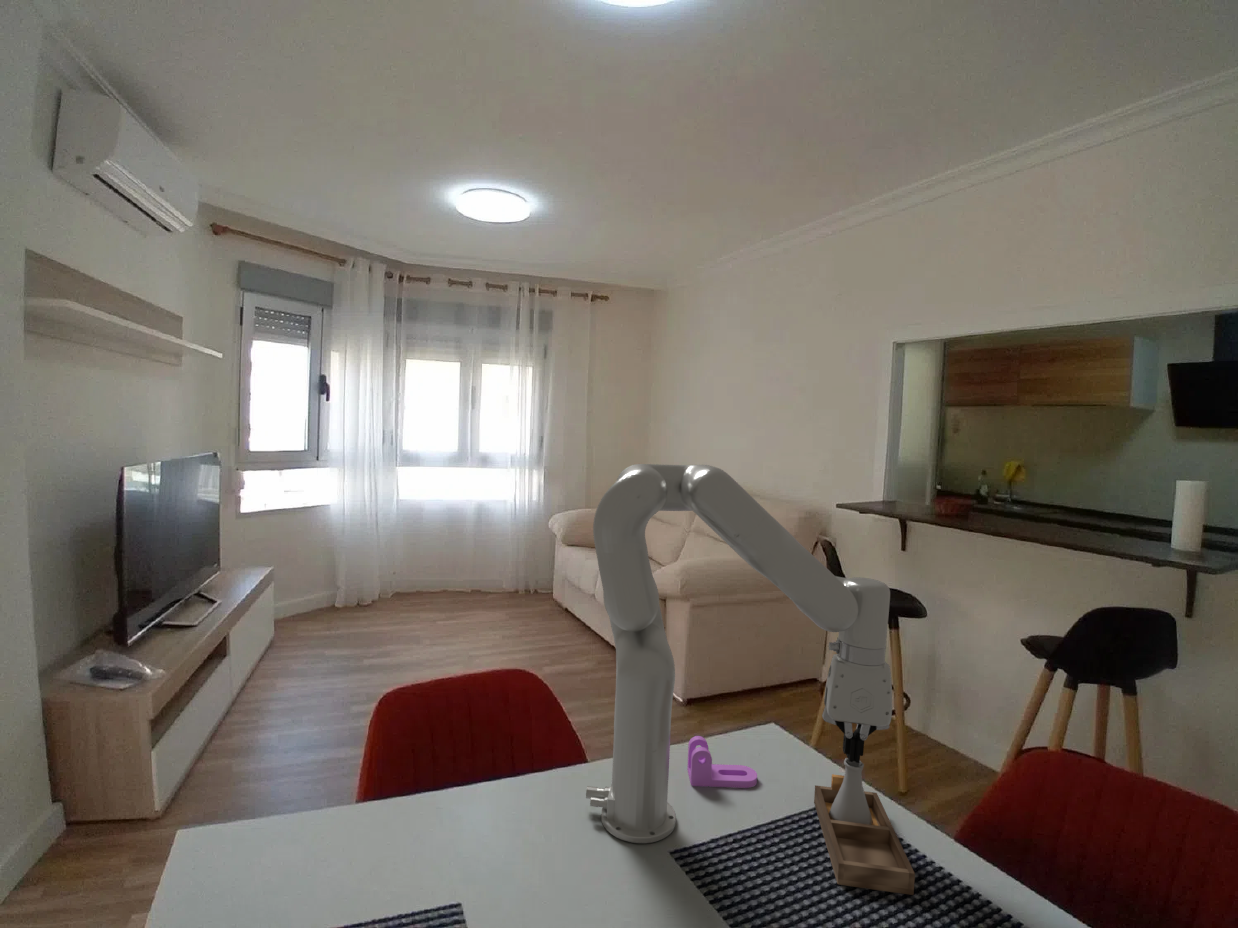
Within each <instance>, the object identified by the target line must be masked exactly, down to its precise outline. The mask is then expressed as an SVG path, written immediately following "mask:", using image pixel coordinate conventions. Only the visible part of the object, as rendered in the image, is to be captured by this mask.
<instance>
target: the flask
mask: <svg viewBox="0 0 1238 928" xmlns="http://www.w3.org/2000/svg"><path fill="white" fill-rule="evenodd" d="M843 764H844V766H845V767H844V768H845V769H844V775H843V776H844V779H843V783H842V785H841V787H840V790H839V792H838V794H837V796H836V798H835V800H834V802H833V804H832V806H831V809H830V812H829V816H830V818H831V819H832V820H838V821H846V822H854V823H861V824H869V825H872V824H873V820H872V817H871V813H870V810H869V807H868V804H867V800H866V797H865V793H864V791H865V789H864V786H863V778H862V771H863V769H864V765H865V764H864V763H863V762H862V761H861V760H860V762H859V763H856V762H855V761H853V762H849V760H848V758H847V757H845V759H844V760H843Z"/></svg>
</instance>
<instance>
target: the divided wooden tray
mask: <svg viewBox="0 0 1238 928" xmlns="http://www.w3.org/2000/svg"><path fill="white" fill-rule="evenodd" d="M843 779H844V775H842V774H834V773H833V774H831V786H825V785H824V786H823V785H814V796H813V797H814V798H813V799H814V801H813V804H814V807H815V812H816V813H817V817H818V821H819V824H820V828H821V833H822V835H823V839H824V842H825V846H826V849H827V851H828V852H827V853H828V855H829V859H830V864H831V867H832V870H833V874H834V877H835V881H836V883H837V885H841V886H848V887H853V888H854V887H855V888H860V889H868V890H874V891H881V892H887V893H889V892H890V893H896V894H902V895H903V894H905V895H910V896H914V894H915V893H914V892H915V879H916V877H915V876H916V873H915V871H914V869H913V866H912V864H911V862H910V859H908V857H907V855H906V852H905V850H904V848H903V845H902V844H901V842H900V839H899V837H898V835H897V833H896V831H895V829H894V826H893V824H892V822H891V820H890V818H889V815H888V814H887V812H886V809H885V808H884V806H883V804H882V801H881V799H880V797H879V795H878V793H877V792H873V791H872V792H871V791H867V790H864V793H865V797H866V800H867V804H868V807H869V810H870V813H871V817H872V820H873V824H872V825H869V824H861V823H854V822H846V821H838V820H832V819H831V818H830V816H829V812H830V809H831V806H832V804H833V802H834V800H835V798H836V796H837V794H838V792H839V790H840V787H841V785H842V783H843Z"/></svg>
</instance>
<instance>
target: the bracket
mask: <svg viewBox="0 0 1238 928" xmlns="http://www.w3.org/2000/svg"><path fill="white" fill-rule="evenodd" d="M687 748H688V749H687V750H688V751H687V765H686V766H687V768H686V769H687V770H686V771H687V773H688V779H689V784H690V786H691V785H692V786H691V787H708V786H709V788H710V787H711V788H714V787H716V788H717V787H718V788H740V789H741V788H742V789H743V788H744V789H747V788H752V787H755V786H756V785H757V784H758V773H757V771H756V770H755V769H754V768H752V767H749V766H747V765H742V764H722V763H721V764H716V763H715V764H713V762H712V761H713V758H712V754H711V752H710V750H709V745H708V741H707V740H706V738H704V736H701V735H695V736H693V737H691V738H690V740H689V741H688V745H687Z"/></svg>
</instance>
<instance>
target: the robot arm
mask: <svg viewBox="0 0 1238 928" xmlns="http://www.w3.org/2000/svg"><path fill="white" fill-rule="evenodd" d="M661 511H662V512H693V513H694V514H696V516H698V518H700V520H702V521H703V523H705V524H706V525H707V526H708V527H709V528H710V529H711V530H712V531H714V533H716V535H718V537H720V538H721V540H723V541H724V542H725V543H726V544H727V545H728V546H729V547H730V549H732V550H733V551H734V552H735V553H736V554H737V555H738V556H739V557H740V558H741V559H742V560H744V561H745V562H746V564H748V565H749V566H750V567H751V568H752V569H753V570H755V571H756V572H757V573H759V574H760V575H762V576H763V577H765V578H766V579H767V580H768V581H770V582H771V584H773V585H774V586H776V588H778V589H779V590H780V591H781V592H782V593H783V594H784V595H785V596H787V598H789V600H790V601H792V602H793V604H794V605H795V606H796V609H798V610H799V611H800V612H801V613H802V614H803V615H805V616H806V617H807V618H808V619H810V621H812V622H813V623H814V624H815V625H816V626H817V627H819V628H820V629H822V630H824V631H826V632H829V633H838V635H837V637H836V640H835V641H833V642H832V641H831V642H828V650H829V651H833V652H835V653H834V654H833V655H832V658H831V662H830V664H829V669H828V671H827V672H828V673H827V676H826V677H827V678H826V683H825V689H824V701H823V702H824V703H823V704H824V709H823V712H822V713H821V716H822V719H823V721H824V722H826V723H829V724H832V725H835V726H837V728H839V730H840V731H841V732H842V733H843V740H842V752H843V754H845V756H846V758H848V760H849V762H853V761H855V762H856V763H859V762H860V761H861V757H864V749H865V741H867V739H868V737H869V736H870V735H872V733H874V732H876V731H882V730H888V729H890V724H891V722H892V716H893V715H892V714H893V707H892V706H893V687H892V673H891V672H892V671H891V666H890V664H889V663H888V662H886V652H887V651H886V649H887V638H888V627H889V626H888V624H889V614H890V613H889V612H890V605H891V604H890V601H891V590H890V587H889V586H888V584H887V583H885V582H883V581H881V580H877V579H875V578H867V577H843V576H842V577H841V576H837V575H834V574H833V572H832V571H830V570H829V569H828V568H827V567H826V566H825V565H824V564H823V563H822V562H821V561H820V560H819V559H818V558H816V557H815V555H813V554H812V553H811V552H810V551H809V550H808V549H806V547H805V546H803V545H802V544H801V543H800V542H799V541H798V540H797V539H796V537H795V536H793V534H791V533H790V532H789V530H787V528H785V527H784V525H782V524H781V523H780V522H779V521H777V519H776V518H774V516H773V515H771V514H770V513H769V512H768V511H767V510H766V509H765V508H764V507H763V506H762V505H761V504H760V503H759V502H758V501H757V500H756V499H755V498H754V497H753V496H752V495H751V494H749V492H747V491H746V489H744V487H742V485H740V484H739V483H738V482H737V481H736V480H735V479H734V478H733V477H732V476H731V475H730V474H728V473H727V472H726V471H724V470H723V469H721V468H720V467H716V466H712V465H708V464H658V463H657V464H655V463H653V464H652V463H636V464H635V463H634V464H632V465H629V466H627V467H626V468H624V469H623V470H622V471H621V472H620V473H619V475H618V476H617V478H616V480H615V482H614V483H613V484H612V485H611V486H610V487H609V488H608V490H607V491H606V492H605V493H604V494H603V495H602V497H601V498H600V501H599V503H598V505H597V508H596V511H595V514H594V517H593V518H594V519H593V525H592V529H593V530H592V532H593V543H594V548H595V549H594V550H595V553H596V559H597V565H598V566H597V567H598V571H599V575H600V580H601V585H602V593H603V595H602V596H603V603H604V608H605V611H606V613H607V616H608V618H609V623H610V627H611V632H612V636H613V641H614V646H615V662H616V663H615V664H616V665H615V666H616V667H615V670H616V671H615V674H616V675H615V696H614V697H615V700H614V717H613V745H612V747H613V750H612V771H611V773H612V774H611V784H610V786H605V788H603V787H598V786H592V785H587V787H586V790H585V791H586V793H585V798H586V799H590V801H589V802H590V803H589V806H590V807H596V808H599V807H600V808H601V814H600V815H601V823H602V826H603V827H604V828H605V830H606V831H607V832H608V833H610V834H611V835H612V836H614V837H615V838H617V839H619V840H621V841H625V842H627V843H628V842H629V843H633V844H651V843H652V844H653V843H655V842H659V841H662V840H663V839H666V837H668V836H669V835H671V833H673V831H674V829H675V827H676V822H677V821H676V819H677V818H676V817H677V816H676V811H675V810H674V808H673V806H672V805H671V804H670V803H669V802H668V798H669V797H668V793H669V772H670V771H669V770H670V753H671V752H670V751H671V728H672V725H671V724H672V709H673V700H674V699H673V698H674V691H675V683H676V665H675V660H674V656H673V653H672V650H671V646H670V644H669V641H668V638H667V634H666V629H665V625H664V620H663V616H662V610H661V606H660V595H659V589H658V587H657V583H656V581H655V577H654V576H653V573H652V571H653V570H652V568H651V561H650V557H649V551H648V545H647V540H646V528H647V526H648V523H649V521H650V519H652V518H653V517H654V516H655V515H656V514H657V513H658V512H661ZM853 724H856V728H855V730H854V731H853Z"/></svg>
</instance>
